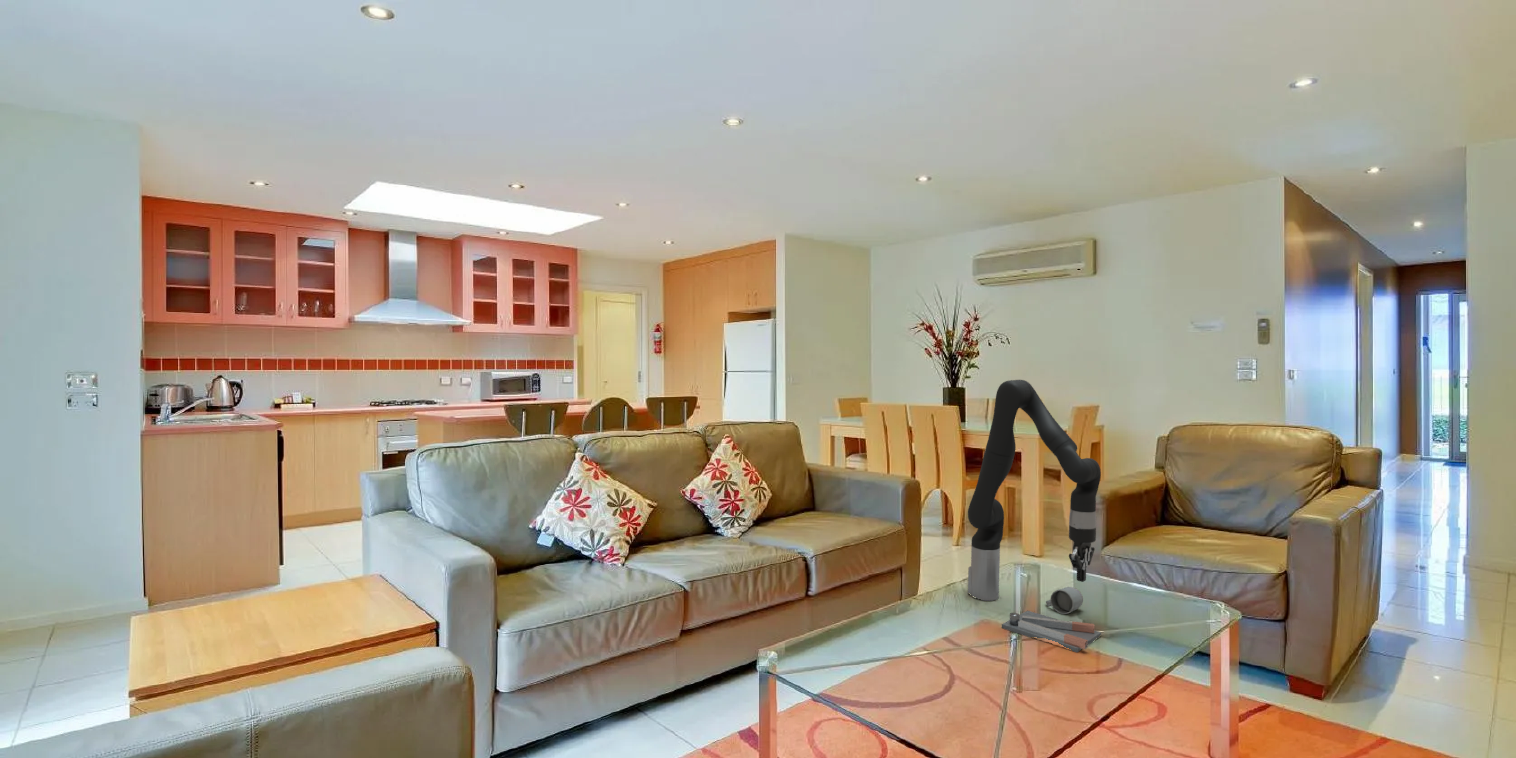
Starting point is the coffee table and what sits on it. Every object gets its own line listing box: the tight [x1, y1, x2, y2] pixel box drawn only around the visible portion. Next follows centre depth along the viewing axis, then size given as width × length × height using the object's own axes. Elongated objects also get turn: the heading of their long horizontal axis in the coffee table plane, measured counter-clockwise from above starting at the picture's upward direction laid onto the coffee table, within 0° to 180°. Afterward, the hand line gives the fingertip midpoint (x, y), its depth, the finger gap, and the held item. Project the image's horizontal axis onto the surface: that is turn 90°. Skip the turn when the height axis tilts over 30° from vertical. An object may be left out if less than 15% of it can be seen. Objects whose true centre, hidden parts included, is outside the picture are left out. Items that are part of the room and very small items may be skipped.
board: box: [1001, 610, 1102, 653], centre depth 222 cm, size 23×16×1 cm
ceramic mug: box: [1045, 586, 1084, 615], centre depth 239 cm, size 11×8×8 cm
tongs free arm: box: [1022, 616, 1095, 633], centre depth 222 cm, size 20×2×2 cm, turn 71°
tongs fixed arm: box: [1009, 612, 1089, 650], centre depth 217 cm, size 24×3×3 cm, turn 43°
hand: (1081, 580), depth 225 cm, fingers closed
